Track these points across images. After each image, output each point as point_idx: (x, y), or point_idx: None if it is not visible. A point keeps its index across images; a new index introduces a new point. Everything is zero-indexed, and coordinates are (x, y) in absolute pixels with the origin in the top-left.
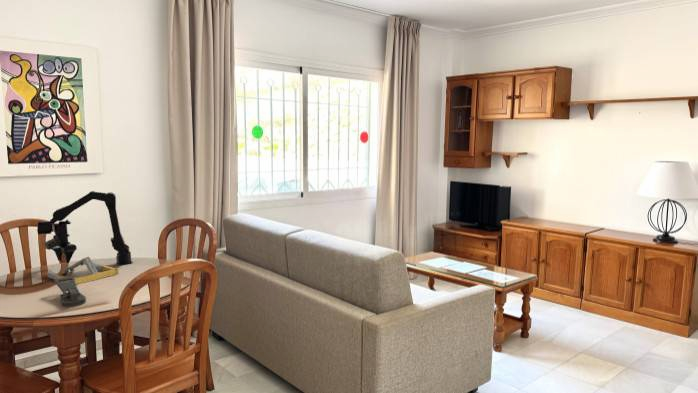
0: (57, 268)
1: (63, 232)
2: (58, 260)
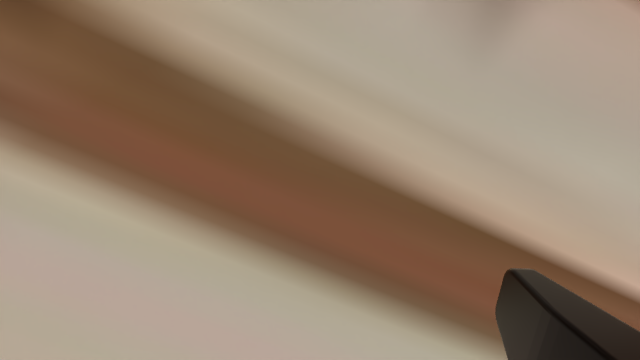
0: (479, 142)
1: None
2: (523, 270)
